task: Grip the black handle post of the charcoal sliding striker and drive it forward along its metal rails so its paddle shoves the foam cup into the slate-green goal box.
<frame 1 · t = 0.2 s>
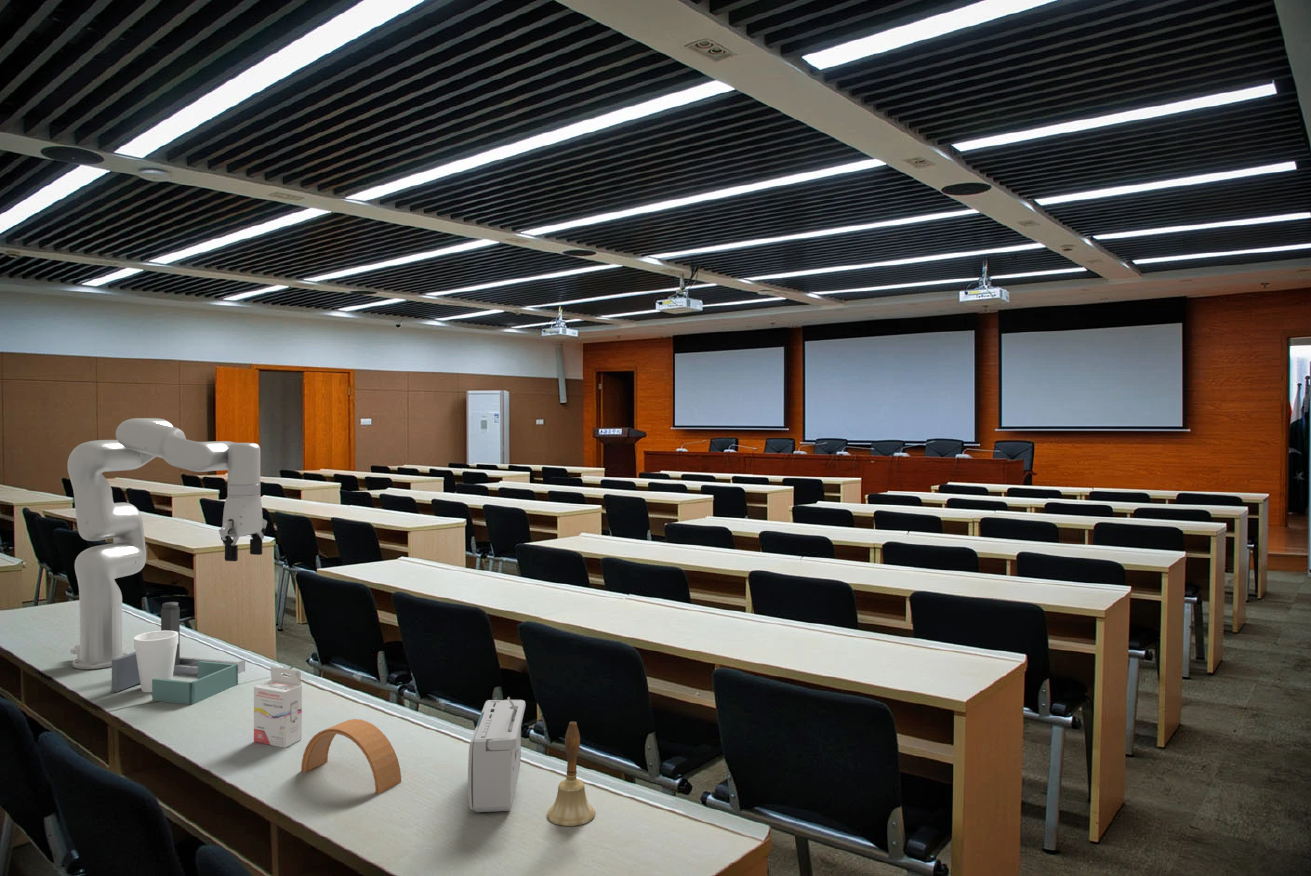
hand: (243, 557, 212), 31 cm above the table, tool pointing down, fingers open, 9 cm apart
striker rails: (189, 669, 217), on the table
arch: (350, 778, 156), on the table
foam cup: (156, 688, 203), on the table
hand bell: (571, 816, 142), on the table
stereo radio cassette player: (498, 790, 152), on the table
goal box: (196, 692, 201), on the table
striker: (144, 644, 210), point 9 cm above the table, slide at 0.0 cm
ink cartridge box: (277, 742, 172), on the table
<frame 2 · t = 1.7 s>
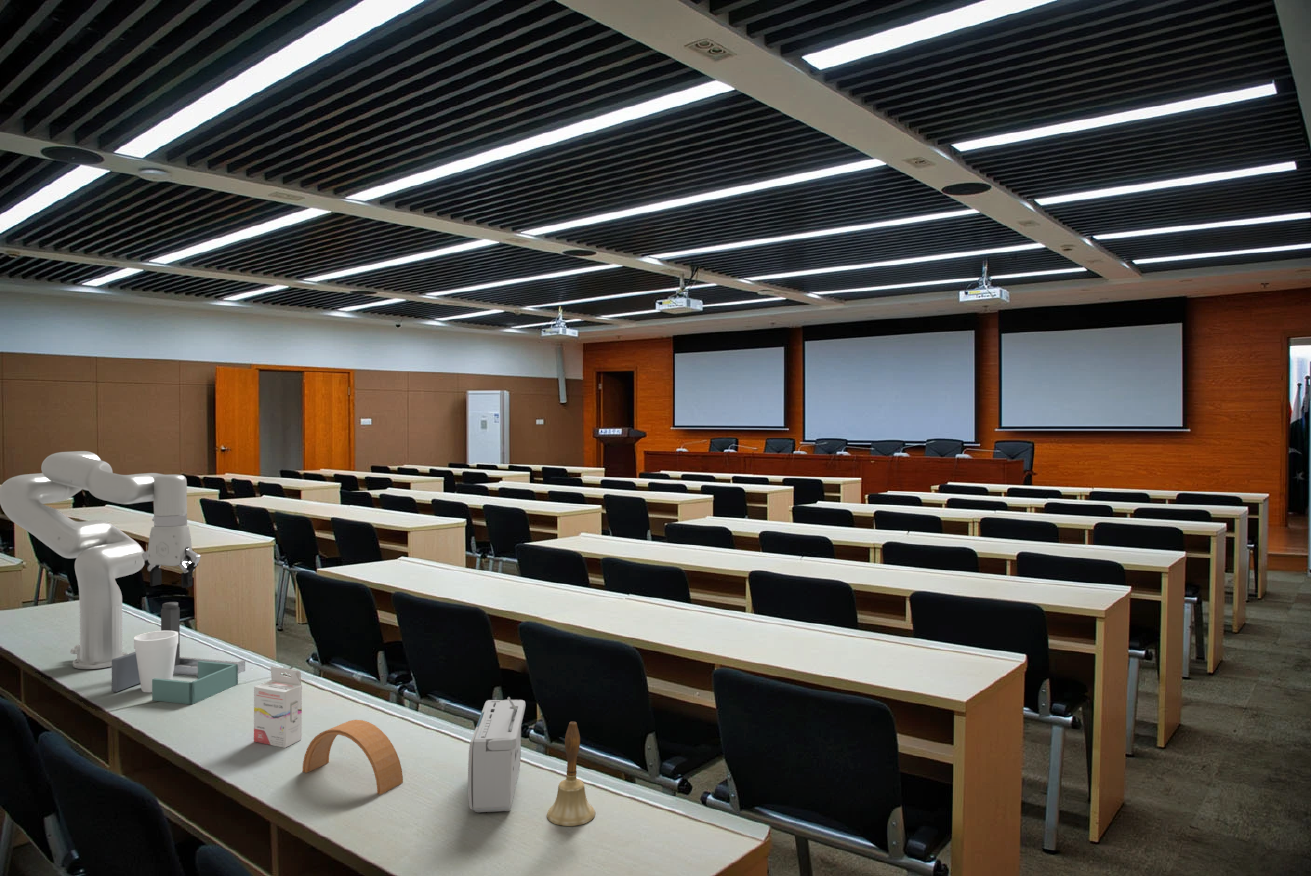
hand: (171, 586, 218), 22 cm above the table, tool pointing down, fingers open, 9 cm apart
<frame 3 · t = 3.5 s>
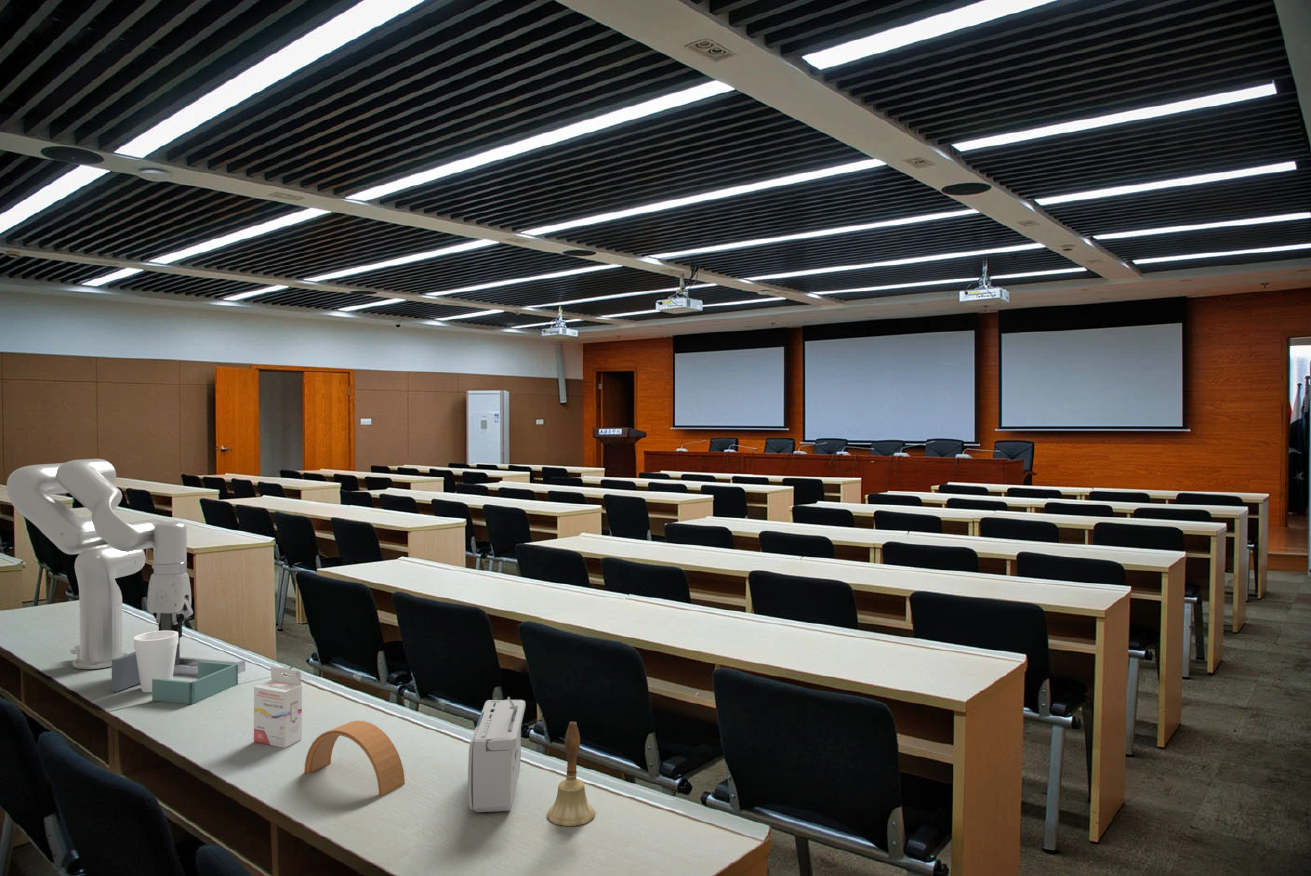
hand: (170, 637, 218), 8 cm above the table, tool pointing down, fingers closed on striker, 3 cm apart
striker: (144, 644, 210), point 9 cm above the table, slide at 0.0 cm, touching gripper
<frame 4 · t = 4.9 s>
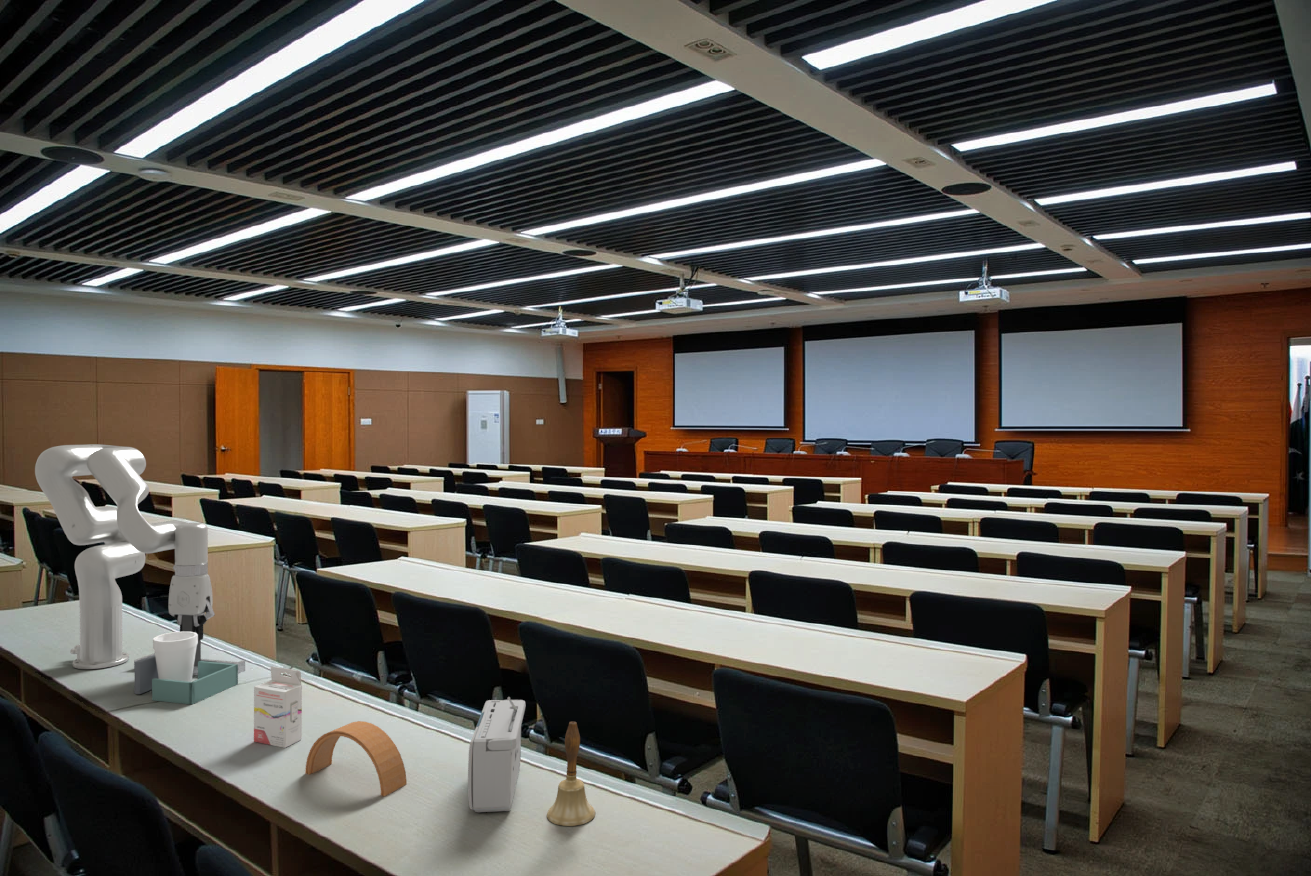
hand: (191, 639, 217), 8 cm above the table, tool pointing down, fingers closed on striker, 3 cm apart
foam cup: (175, 689, 202), on the table, touching striker
striker: (166, 646, 208), point 9 cm above the table, slide at 6.6 cm, touching foam cup, gripper
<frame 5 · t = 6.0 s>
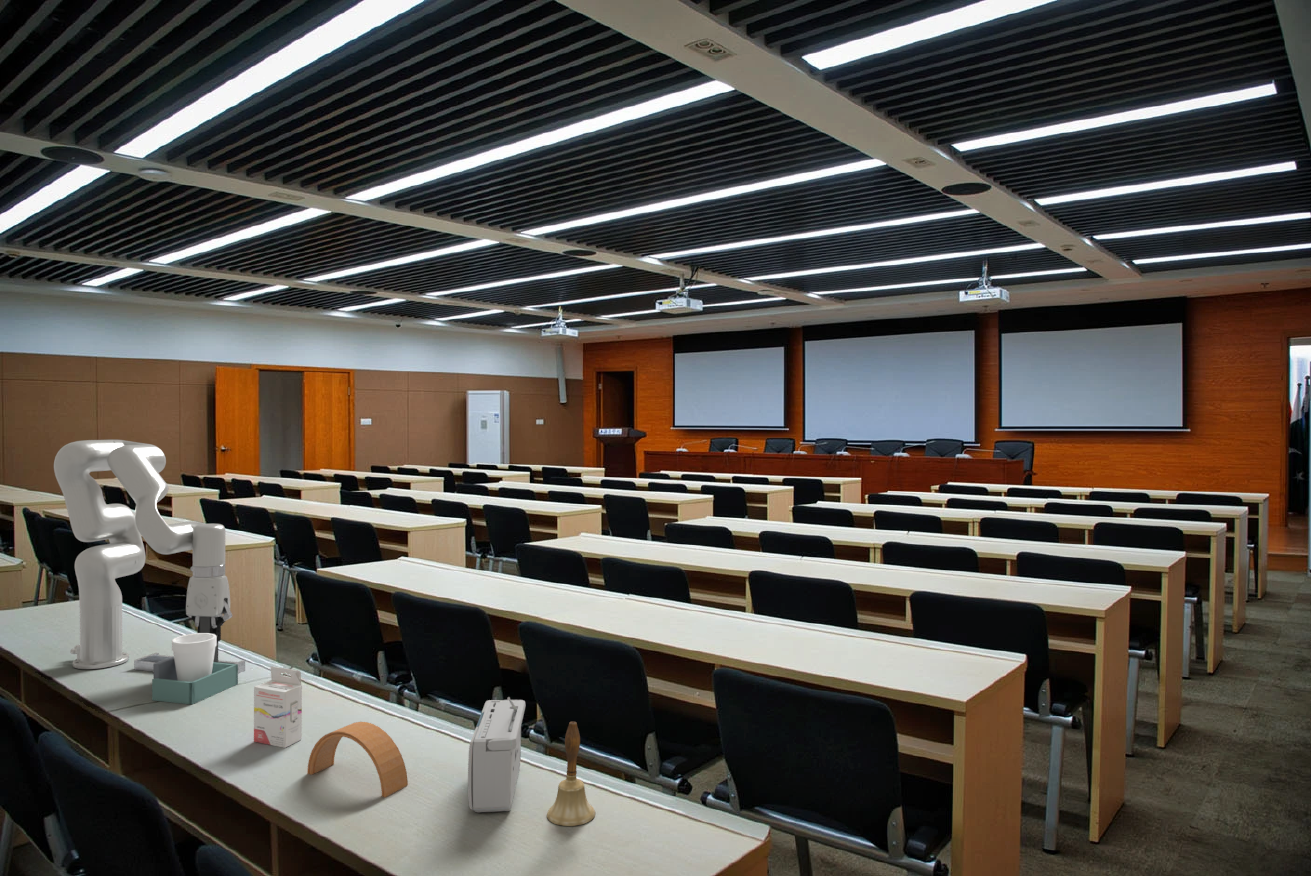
hand: (209, 640, 216), 8 cm above the table, tool pointing down, fingers closed on striker, 3 cm apart
foam cup: (194, 691, 201), on the table, touching striker
striker: (184, 648, 207), point 9 cm above the table, slide at 11.9 cm, touching foam cup, gripper
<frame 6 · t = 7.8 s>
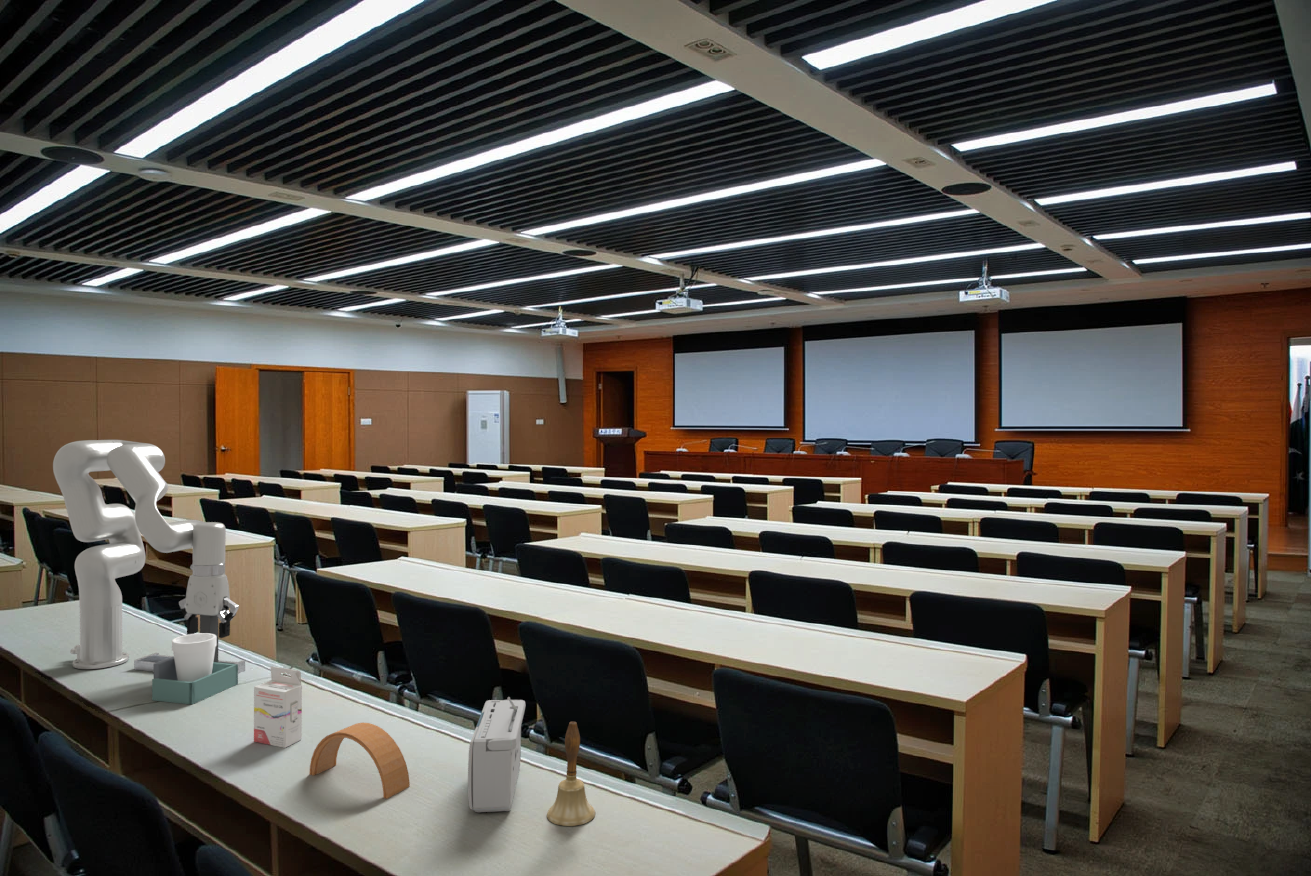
hand: (208, 635, 216), 10 cm above the table, tool pointing down, fingers open, 9 cm apart
foam cup: (194, 692, 201), on the table
striker: (184, 648, 207), point 9 cm above the table, slide at 12.0 cm
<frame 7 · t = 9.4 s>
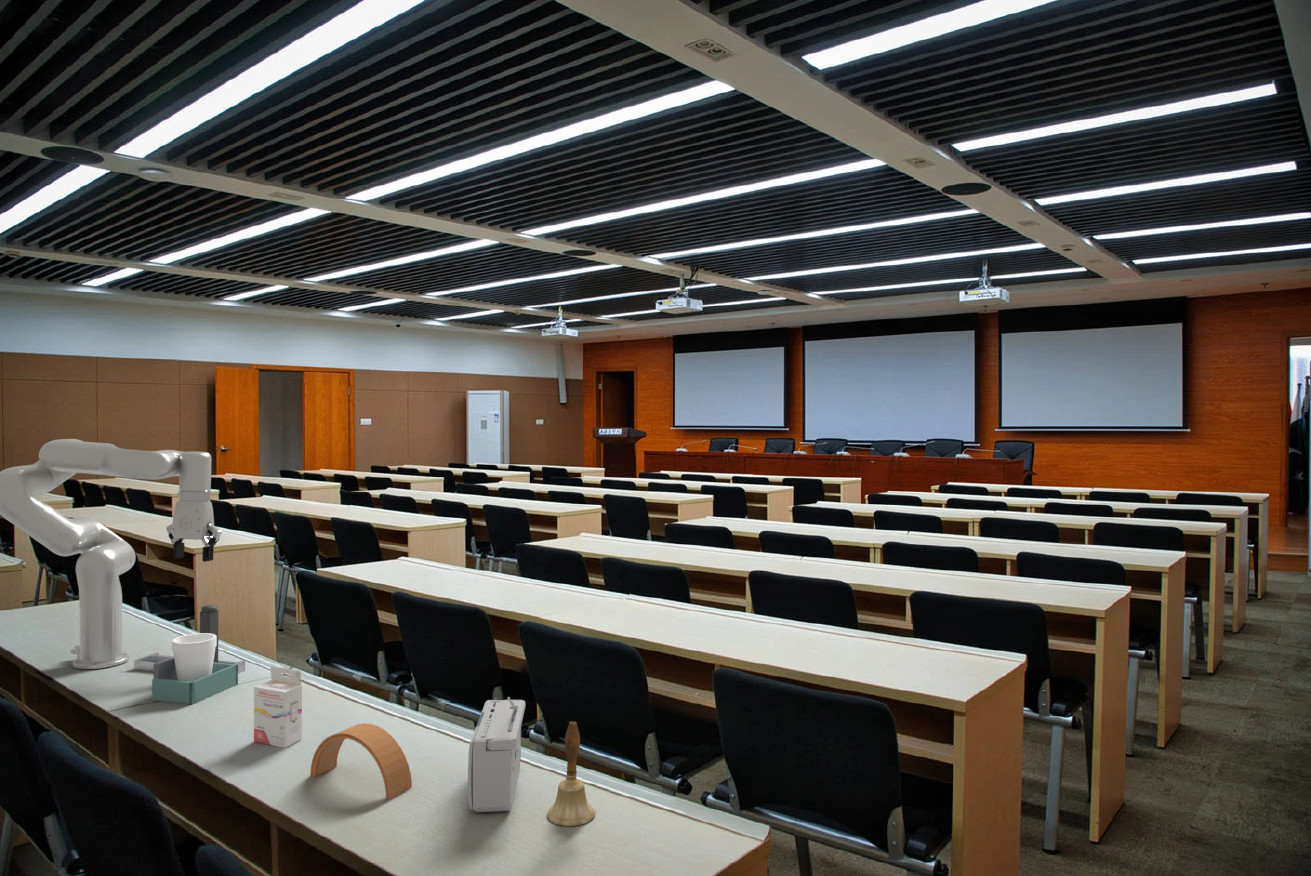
hand: (193, 559, 226), 28 cm above the table, tool pointing down, fingers open, 9 cm apart
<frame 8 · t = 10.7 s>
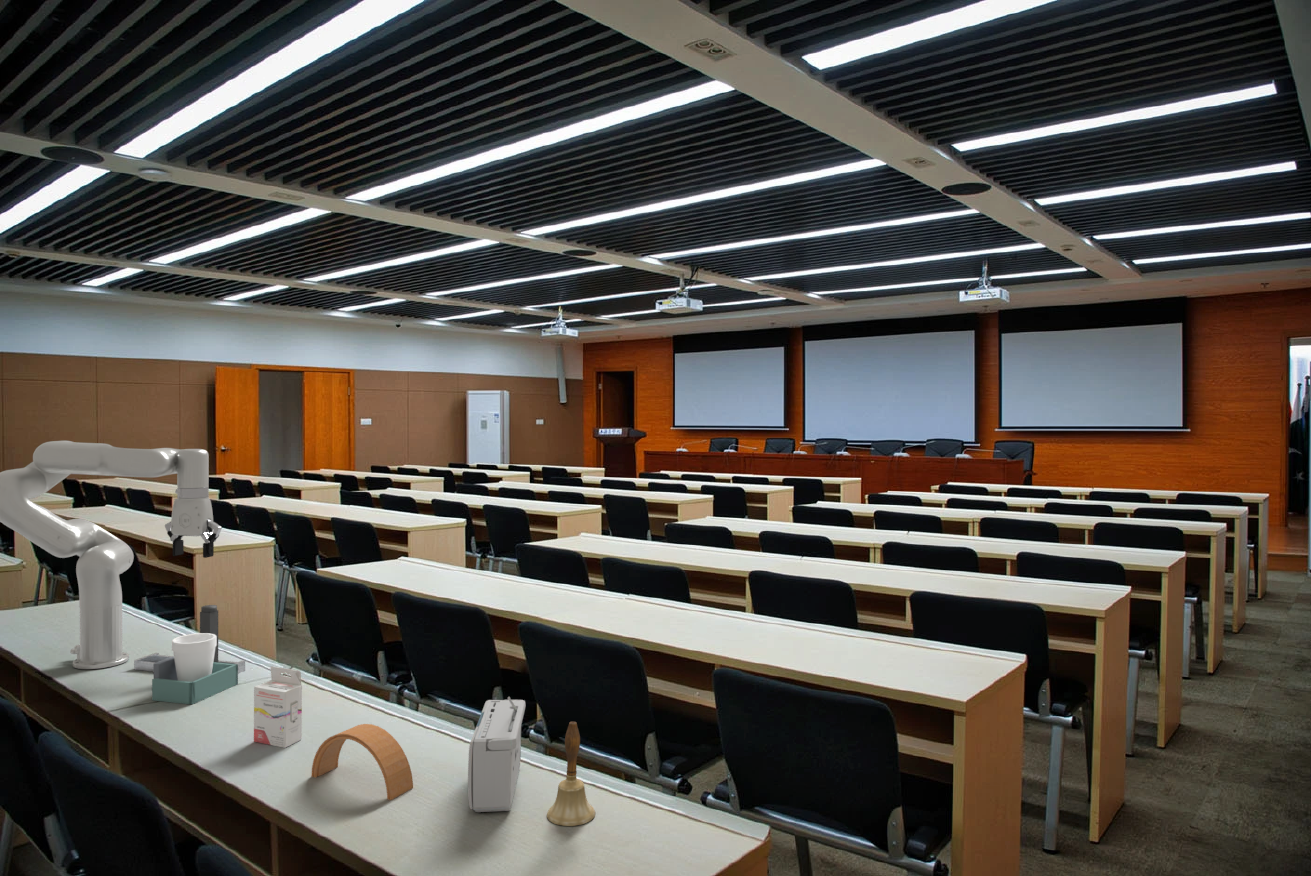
hand: (193, 556, 227), 28 cm above the table, tool pointing down, fingers open, 9 cm apart
at the end: foam cup inside the target area (1.2 cm from its centre), on the table; foam cup tilted 0°; striker slide at 12.0 cm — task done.
